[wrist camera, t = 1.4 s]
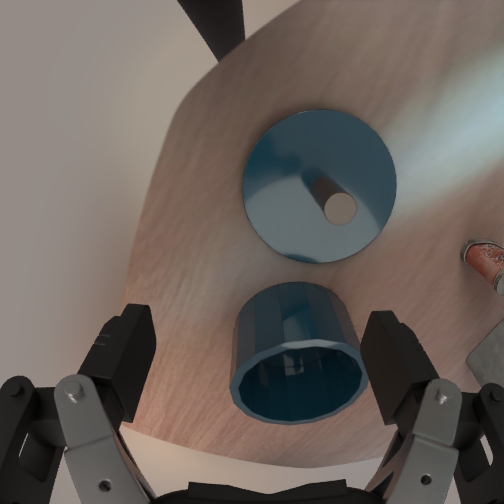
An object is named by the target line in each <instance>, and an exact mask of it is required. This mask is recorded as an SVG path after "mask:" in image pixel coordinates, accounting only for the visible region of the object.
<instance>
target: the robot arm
mask: <svg viewBox="0 0 504 504" xmlns="http://www.w3.org/2000/svg"><path fill="white" fill-rule="evenodd" d="M155 351H156V335H155V330H154V326H153V320H152V315H151V310H150V307H149V306H148V305H141V304H127V306H126V307H125V309H124V311H123V313H122V314H121V316H114V317H113V318H111V319H110V320H109V321H108V322H107V323H105V324H104V326H103V328H102V330H101V331H100V333H99V336H98V337H97V338H96V340H95V342H94V344H93V345H92V347H91V349H90V351H89V352H88V354H87V356H86V358H85V360H84V362H83V363H82V365H81V367H80V369H79V371H78V373H77V374H75V375H70V376H67V377H65V378H63V379H62V380H61V381H60V382H59V383H58V384H57V386H56V387H46V388H45V387H44V388H35V387H34V385H33V384H32V382H31V381H30V380H29V379H28V378H27V377H24V376H15V377H12V378H10V379H8V380H7V381H6V382H5V383H4V384H3V385H2V387H1V389H0V504H49V502H50V497H51V493H52V490H53V486H54V482H55V479H56V475H57V471H58V468H59V465H60V461H61V458H62V455H63V451H64V448H65V446H67V447H68V450H65V451H64V457H65V460H66V464H67V466H68V469H69V472H70V475H71V478H72V480H73V483H74V486H75V488H76V490H77V493H78V496H79V498H80V500H81V503H82V504H444V502H445V499H446V496H447V493H448V490H449V487H450V484H451V481H452V477H453V475H454V479H455V482H456V486H457V490H458V493H459V497H460V501H461V504H504V388H503V387H502V386H500V385H499V384H496V383H487V384H485V385H484V386H483V387H482V388H481V390H480V391H479V392H478V393H466V392H461V391H460V389H459V388H458V387H457V386H456V385H455V384H454V383H453V382H451V381H449V380H447V379H442V378H441V379H440V377H439V375H438V374H437V372H436V370H435V368H434V366H433V365H432V363H431V361H430V359H429V358H428V356H427V354H426V352H425V351H423V347H422V345H421V344H420V343H419V340H418V339H417V337H416V335H415V334H414V332H413V331H412V330H411V329H410V328H409V327H407V326H406V325H405V324H404V323H400V322H399V321H398V319H397V317H396V316H395V314H394V312H393V311H391V310H388V311H372V312H371V314H370V316H369V319H368V322H367V326H366V329H365V332H364V335H363V338H362V341H361V345H360V354H361V358H362V361H363V364H364V367H365V369H366V372H367V375H368V378H369V380H370V383H371V386H372V389H373V392H374V394H375V397H376V400H377V403H378V406H379V409H380V412H381V415H382V418H383V421H384V424H385V426H386V425H391V424H397V427H398V429H397V431H396V432H395V434H394V436H393V439H392V441H391V443H390V445H389V447H388V450H387V452H386V454H385V456H384V458H383V460H382V462H381V464H380V466H379V468H378V470H377V472H376V474H375V475H374V477H373V478H372V479H371V481H370V482H369V483H368V485H367V486H366V488H365V489H364V490H361V489H357V488H352V487H347V485H346V480H345V479H342V480H336V481H328V482H319V483H309V484H306V485H303V486H299V487H296V488H292V489H289V490H285V491H281V492H278V493H273V494H264V493H259V492H254V491H250V490H246V489H242V488H237V487H233V486H230V485H220V484H207V483H197V482H189V485H188V489H186V490H179V491H174V492H171V493H167V494H164V495H162V496H160V497H157V496H156V495H155V493H154V492H153V490H152V488H151V487H150V485H149V484H148V482H147V481H146V479H145V478H144V476H143V475H142V473H141V471H140V470H139V468H138V466H137V464H136V462H135V460H134V458H133V457H132V455H131V453H130V451H129V449H128V447H127V445H126V443H125V441H124V439H123V437H122V435H121V433H120V431H119V428H120V425H121V422H122V421H124V422H129V423H133V420H134V416H135V413H136V410H137V407H138V403H139V400H140V397H141V394H142V391H143V388H144V385H145V382H146V379H147V376H148V372H149V370H150V367H151V364H152V361H153V358H154V355H155ZM27 433H28V436H27V439H26V441H25V444H24V446H23V449H22V452H21V455H20V457H19V453H20V450H21V448H22V445H23V442H24V439H25V437H26V435H27ZM484 435H485V436H486V438H487V440H488V443H489V446H490V448H491V451H492V454H493V462H492V464H491V466H490V465H489V462H488V459H487V456H486V454H485V451H484V448H483V446H482V443H481V441H480V439H481V438H482V437H483V436H484Z"/></svg>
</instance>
